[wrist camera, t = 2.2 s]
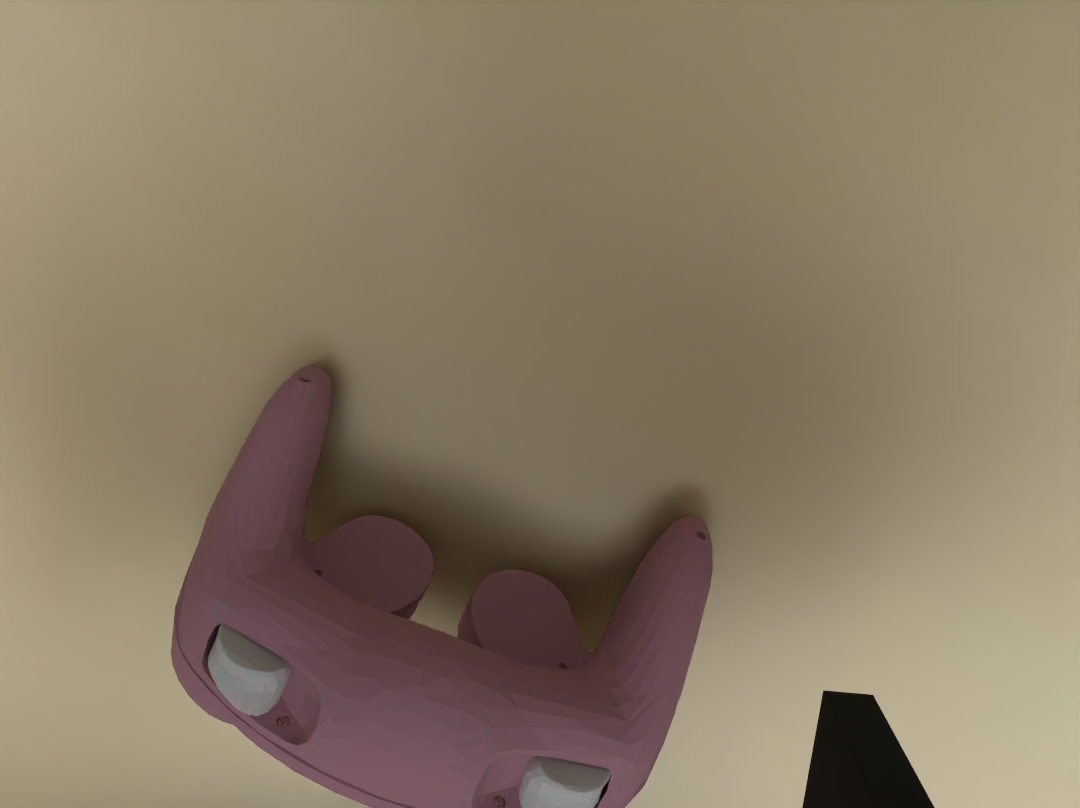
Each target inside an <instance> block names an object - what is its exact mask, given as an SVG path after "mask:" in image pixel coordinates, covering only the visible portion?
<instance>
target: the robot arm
mask: <svg viewBox="0 0 1080 808" xmlns="http://www.w3.org/2000/svg"><path fill="white" fill-rule="evenodd" d="M803 808H934V806H933V804H932V802H931V801H930V799H929V797H928V795H927V793H926V791H925V790H924V788H923V786H922V784H921V782H920V780H919V779H918V777H917V775H916V773H915V771H914V769H913V768H912V766H911V764H910V762H909V760H908V758H907V757H906V755H905V753H904V751H903V749H902V747H901V746H900V744H899V742H898V740H897V738H896V736H895V735H894V733H893V731H892V729H891V727H890V725H889V724H888V722H887V720H886V718H885V716H884V714H883V713H882V711H881V709H880V707H879V705H878V703H877V702H876V700H875V698H874V696H873V695H867V694H856V693H845V692H833V691H823V696H822V702H821V707H820V713H819V719H818V724H817V730H816V735H815V741H814V746H813V752H812V758H811V763H810V769H809V774H808V780H807V786H806V791H805V797H804V802H803Z"/></svg>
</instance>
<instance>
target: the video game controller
mask: <svg viewBox="0 0 1080 808" xmlns="http://www.w3.org/2000/svg"><path fill="white" fill-rule="evenodd" d="M330 406H331V382H330V380H329V377H328V375H327V373H326V371H325V370H324V369H322V368H321V367H318V366H308V367H304V368H303V369H301V370H299V371H297V372H295V373H294V374H293V375H292V376H291V377H290V378H289V379H288V380H286V381H285V382H284V383H283V384H282V386H281V387H280V388H279V389H278V390H277V391H276V392H275V394H274V395H273V396H272V397H271V399H270V400H269V401H268V402H267V404H266V405H265V407H264V409H263V410H262V412H261V414H260V416H259V418H258V420H257V422H256V423H255V425H254V427H253V429H252V431H251V433H250V434H249V436H248V438H247V440H246V442H245V444H244V446H243V447H242V449H241V451H240V453H239V455H238V457H237V458H236V460H235V462H234V464H233V466H232V468H231V470H230V471H229V473H228V475H227V477H226V479H225V481H224V482H223V484H222V486H221V488H220V490H219V492H218V494H217V497H216V499H215V501H214V503H213V505H212V507H211V510H210V512H209V514H208V516H207V519H206V522H205V525H204V528H203V531H202V534H201V537H200V540H199V543H198V546H197V549H196V551H195V554H194V556H193V559H192V561H191V564H190V566H189V569H188V571H187V574H186V576H185V579H184V582H183V585H182V588H181V591H180V595H179V598H178V601H177V604H176V607H175V616H174V627H173V638H172V649H171V656H172V663H173V667H174V669H175V672H176V674H177V677H178V680H179V681H180V683H181V684H182V686H183V687H184V689H185V691H186V692H187V694H188V695H189V696H190V697H191V698H192V700H193V701H194V702H195V703H196V704H197V705H199V706H200V707H201V708H202V709H203V710H204V711H206V712H207V713H208V714H209V715H211V716H213V717H215V718H217V719H219V720H221V721H224V722H227V723H230V724H233V725H235V726H236V727H237V728H238V729H239V730H240V731H241V732H242V733H243V734H244V735H245V736H247V737H248V738H249V739H250V740H251V741H253V742H254V743H255V744H256V745H257V746H259V747H260V748H262V749H263V750H264V751H266V752H267V753H269V754H270V755H272V756H273V757H275V758H276V759H277V760H279V761H280V762H282V763H283V764H285V765H286V766H288V767H289V768H291V769H292V770H293V771H295V772H297V773H299V774H301V775H303V776H305V777H307V778H309V779H310V780H312V781H314V782H316V783H318V784H320V785H322V786H324V787H326V788H328V789H330V790H332V791H334V792H336V793H338V794H340V795H343V796H345V797H348V798H350V799H353V800H355V801H357V802H360V803H362V804H365V805H367V806H370V807H372V808H625V807H626V806H627V804H628V803H629V802H630V801H631V800H632V799H633V798H634V797H635V796H636V795H637V793H638V792H639V791H640V790H641V789H642V788H643V786H644V785H645V783H646V781H647V779H648V777H649V774H650V772H651V770H652V768H653V766H654V763H655V761H656V759H657V757H658V754H659V752H660V750H661V748H662V746H663V743H664V741H665V738H666V735H667V733H668V730H669V727H670V724H671V722H672V719H673V716H674V713H675V710H676V707H677V703H678V700H679V698H680V695H681V692H682V688H683V685H684V681H685V678H686V674H687V671H688V667H689V664H690V660H691V657H692V653H693V649H694V646H695V642H696V638H697V635H698V631H699V627H700V623H701V619H702V615H703V611H704V607H705V604H706V600H707V596H708V592H709V588H710V582H711V575H712V544H711V539H710V535H709V532H708V529H707V526H706V524H705V523H704V522H703V521H702V520H701V519H700V518H698V517H697V516H694V515H687V516H683V517H681V518H680V519H678V520H676V521H675V522H674V523H672V524H671V525H670V527H669V528H668V529H667V530H666V531H665V533H663V534H662V535H661V537H660V538H659V539H658V540H657V541H656V542H655V543H654V544H653V546H652V547H651V548H650V550H649V551H648V553H647V554H646V556H645V557H644V558H643V560H642V561H641V563H640V565H639V567H638V569H637V571H636V572H635V574H634V576H633V578H632V580H631V581H630V583H629V585H628V587H627V589H626V590H625V592H624V594H623V596H622V598H621V599H620V601H619V603H618V605H617V607H616V609H615V610H614V612H613V614H612V617H611V619H610V621H609V624H608V626H607V629H606V631H605V633H604V636H603V638H602V640H601V643H600V644H599V645H598V646H597V648H596V649H595V650H594V651H593V652H591V653H588V652H587V651H586V650H585V649H584V648H583V645H582V643H581V640H580V638H579V635H578V633H577V629H576V625H575V622H574V618H573V615H572V611H571V607H570V605H569V603H568V601H567V599H566V597H565V595H564V594H563V593H562V592H561V591H560V589H559V588H558V587H557V586H555V585H554V584H553V583H552V582H550V581H549V580H547V579H546V578H544V577H542V576H540V575H537V574H534V573H531V572H528V571H524V570H502V571H498V572H494V573H492V574H490V575H488V576H487V577H486V578H484V579H483V580H482V581H481V582H480V583H479V584H478V585H477V587H476V590H475V592H474V594H473V596H472V597H471V599H470V601H469V603H468V605H467V607H466V609H465V611H464V613H463V615H462V617H461V620H460V622H459V627H458V638H456V637H454V636H451V635H449V634H447V633H444V632H442V631H439V630H436V629H433V628H430V627H427V626H425V625H422V624H419V623H416V622H413V621H410V620H409V618H410V617H411V616H412V614H413V613H414V611H415V609H416V607H417V605H418V603H419V601H420V600H421V599H422V597H423V595H424V593H425V592H426V590H427V588H428V586H429V584H430V582H431V579H432V576H433V571H434V561H433V556H432V553H431V551H430V548H429V546H428V545H427V544H426V542H425V541H424V540H423V539H422V538H421V537H420V536H419V535H418V534H417V532H416V531H414V530H413V529H411V528H410V527H408V526H406V525H405V524H403V523H401V522H400V521H398V520H395V519H391V518H388V517H384V516H380V515H368V516H362V517H357V518H355V519H353V520H351V521H349V522H347V523H345V524H343V525H342V526H340V527H339V528H338V529H336V530H335V531H333V532H332V533H330V534H329V535H328V536H326V537H324V538H322V539H320V540H318V541H316V542H315V543H313V544H309V543H307V541H306V539H305V538H304V523H305V510H306V504H307V498H308V494H309V490H310V487H311V484H312V480H313V477H314V474H315V470H316V467H317V464H318V460H319V456H320V453H321V449H322V446H323V441H324V436H325V432H326V427H327V422H328V417H329V412H330Z"/></svg>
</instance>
